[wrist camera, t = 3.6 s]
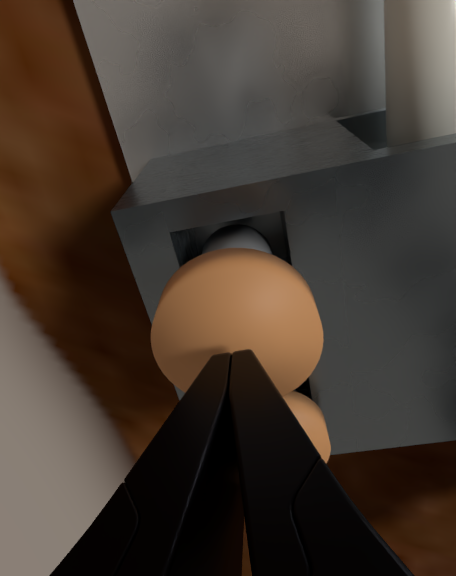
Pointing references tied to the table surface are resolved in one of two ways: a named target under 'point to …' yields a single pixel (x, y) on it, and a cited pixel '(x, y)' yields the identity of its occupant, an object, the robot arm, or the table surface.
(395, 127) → the cube-topped plunger
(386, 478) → the table surface
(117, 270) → the table surface
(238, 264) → the plunger
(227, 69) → the grey slotted base
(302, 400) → the plunger
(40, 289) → the table surface
